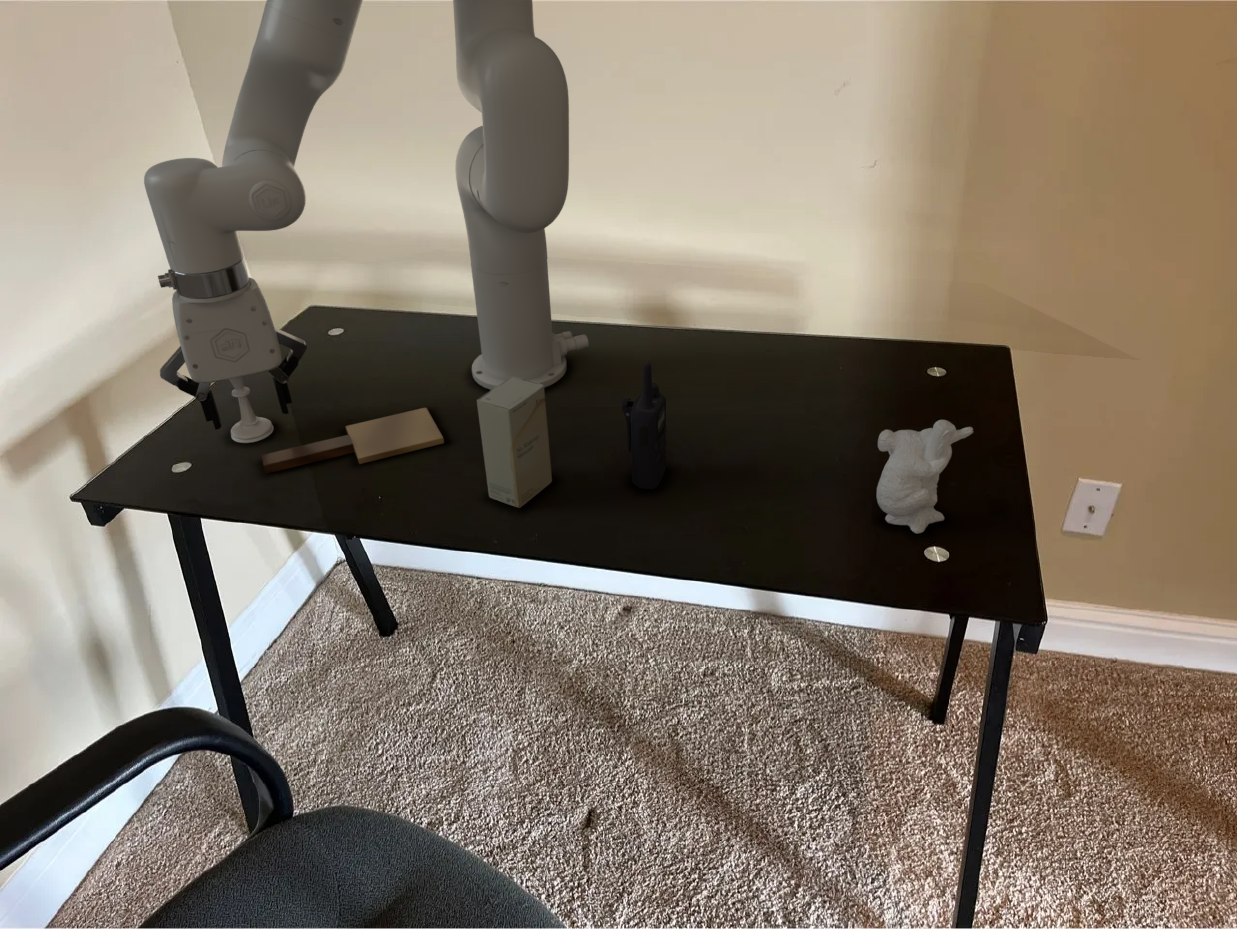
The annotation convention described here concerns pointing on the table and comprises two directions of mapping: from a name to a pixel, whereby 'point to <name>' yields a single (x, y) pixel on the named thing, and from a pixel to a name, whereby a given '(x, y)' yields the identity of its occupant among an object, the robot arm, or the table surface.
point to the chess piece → (248, 417)
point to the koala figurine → (915, 473)
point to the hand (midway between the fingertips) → (251, 415)
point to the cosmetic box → (515, 441)
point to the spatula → (365, 441)
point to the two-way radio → (647, 433)
